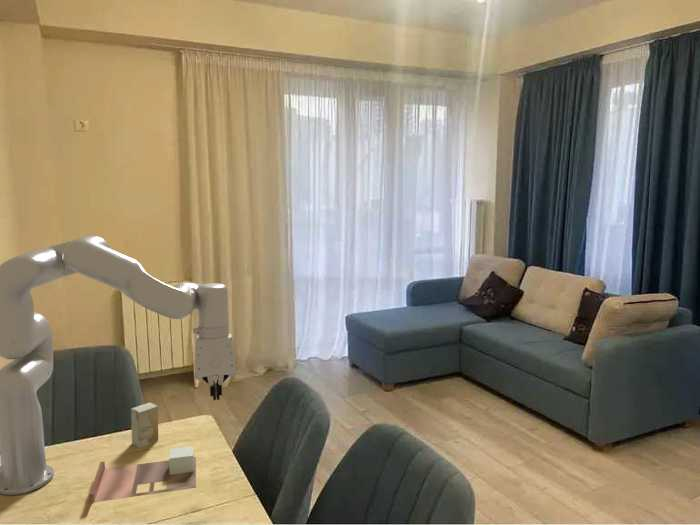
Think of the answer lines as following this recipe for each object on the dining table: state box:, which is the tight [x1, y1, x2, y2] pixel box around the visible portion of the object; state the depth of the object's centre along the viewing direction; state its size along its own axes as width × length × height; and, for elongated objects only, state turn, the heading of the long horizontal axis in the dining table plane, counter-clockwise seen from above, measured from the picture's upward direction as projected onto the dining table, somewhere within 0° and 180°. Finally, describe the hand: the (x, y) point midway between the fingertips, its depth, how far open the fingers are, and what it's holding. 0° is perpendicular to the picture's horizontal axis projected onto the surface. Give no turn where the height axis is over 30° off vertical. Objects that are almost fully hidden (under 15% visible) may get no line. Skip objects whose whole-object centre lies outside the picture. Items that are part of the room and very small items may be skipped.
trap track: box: [89, 456, 197, 509], centre depth 132 cm, size 24×15×4 cm, turn 107°
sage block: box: [168, 446, 195, 475], centre depth 137 cm, size 6×5×4 cm
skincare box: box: [130, 402, 159, 449], centre depth 150 cm, size 6×4×12 cm
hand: (216, 398), depth 137 cm, fingers closed
